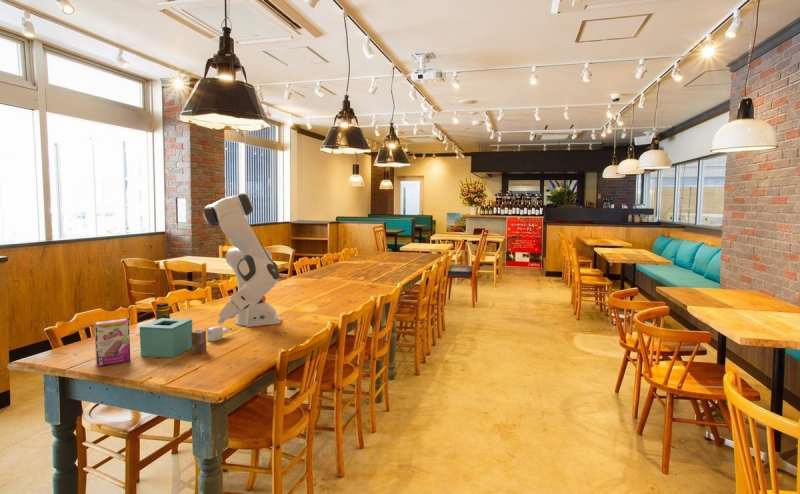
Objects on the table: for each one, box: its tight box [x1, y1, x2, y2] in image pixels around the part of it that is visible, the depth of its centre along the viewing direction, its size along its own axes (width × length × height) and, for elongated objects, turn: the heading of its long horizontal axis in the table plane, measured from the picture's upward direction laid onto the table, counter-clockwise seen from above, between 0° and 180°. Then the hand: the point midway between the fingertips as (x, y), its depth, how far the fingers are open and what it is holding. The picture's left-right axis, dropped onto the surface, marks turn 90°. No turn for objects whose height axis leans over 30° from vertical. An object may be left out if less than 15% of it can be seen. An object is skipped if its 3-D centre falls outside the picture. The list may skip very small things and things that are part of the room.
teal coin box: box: [139, 318, 193, 358], centre depth 192 cm, size 14×14×12 cm
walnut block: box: [191, 329, 207, 355], centre depth 191 cm, size 4×4×9 cm
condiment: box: [155, 302, 171, 321], centre depth 227 cm, size 7×8×12 cm
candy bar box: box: [93, 318, 131, 368], centre depth 178 cm, size 11×5×16 cm, turn 128°
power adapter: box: [206, 325, 233, 342], centre depth 211 cm, size 11×5×6 cm, turn 150°
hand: (225, 319), depth 188 cm, fingers open, 8 cm apart
